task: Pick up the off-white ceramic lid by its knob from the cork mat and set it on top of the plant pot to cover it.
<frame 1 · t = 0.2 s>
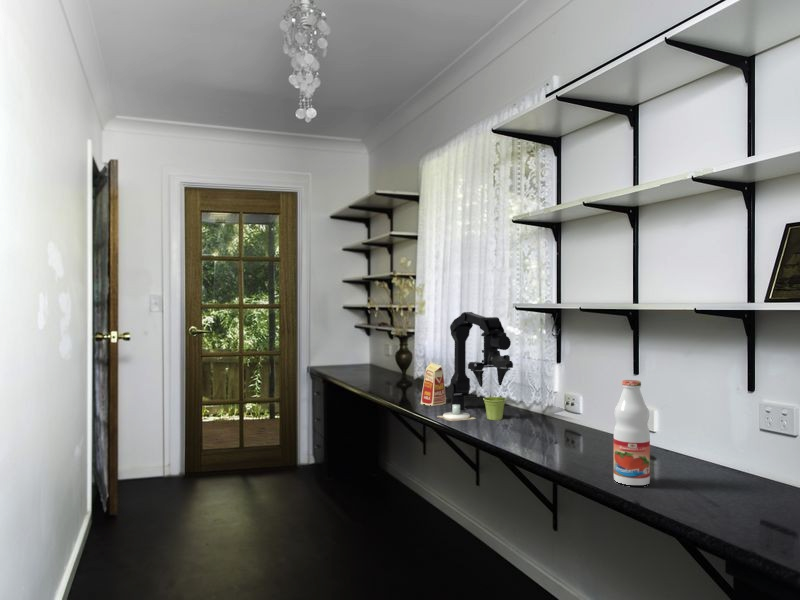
hand: (490, 386, 259), 14 cm above the table, tool pointing down, fingers open, 9 cm apart
fruit juice: (631, 483, 174), on the table
mat: (456, 418, 264), on the table
lid: (456, 417, 264), point 1 cm above the table, touching mat
plant pot: (494, 420, 261), on the table
milk carton: (434, 404, 299), on the table
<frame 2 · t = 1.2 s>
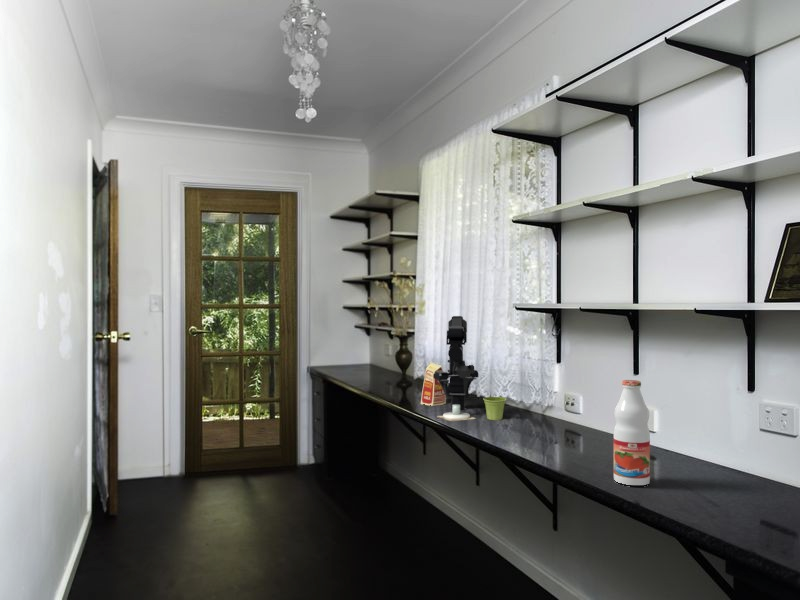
hand: (456, 395, 264), 10 cm above the table, tool pointing down, fingers open, 9 cm apart
nothing on the table moved.
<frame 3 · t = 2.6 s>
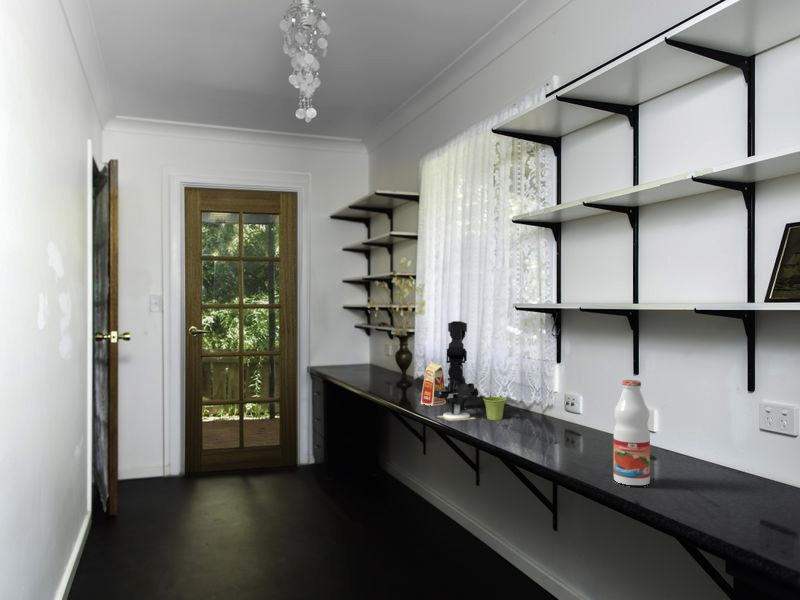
hand: (456, 413, 264), 2 cm above the table, tool pointing down, fingers closed on lid, 3 cm apart
lid: (456, 417, 264), point 1 cm above the table, touching gripper, mat
everything else where it was.
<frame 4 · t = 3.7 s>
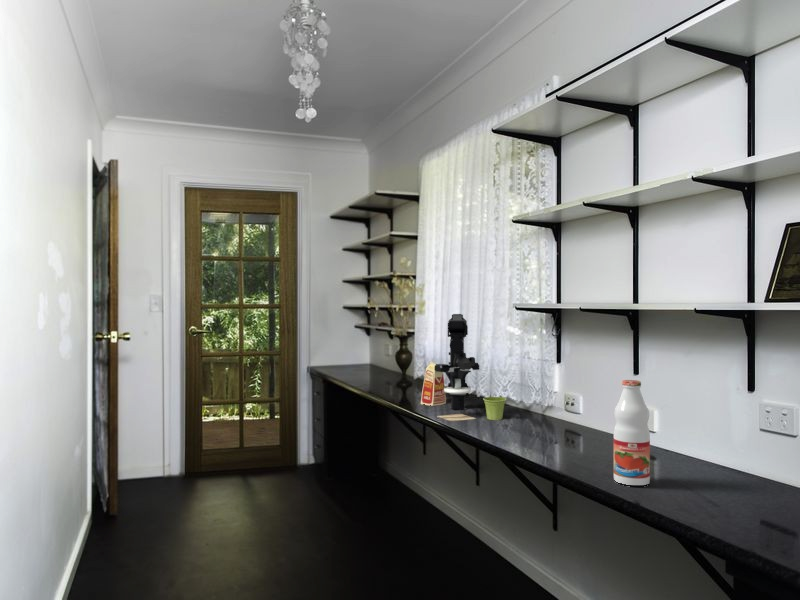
hand: (457, 387, 263), 13 cm above the table, tool pointing down, fingers closed on lid, 3 cm apart
lid: (457, 391, 263), point 11 cm above the table, touching gripper
everything else where it was.
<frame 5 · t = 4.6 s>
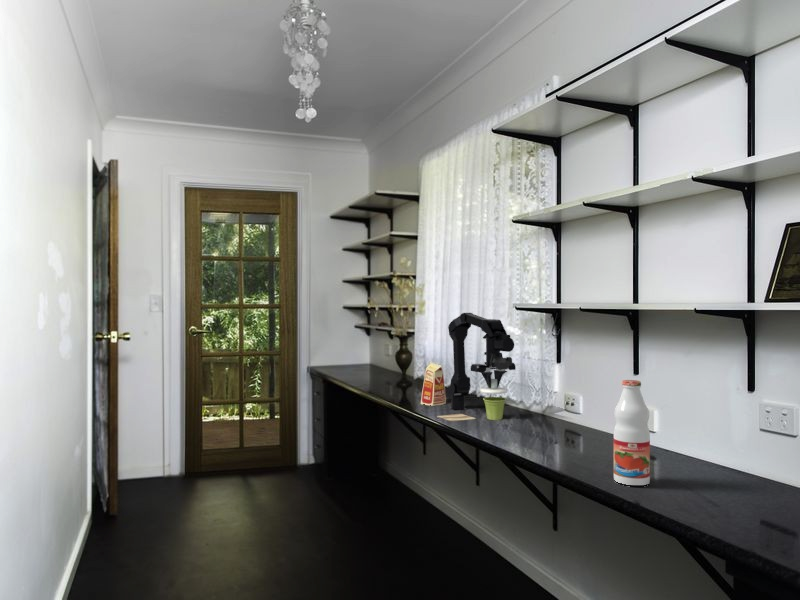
hand: (493, 387, 261), 13 cm above the table, tool pointing down, fingers closed on lid, 3 cm apart
lid: (493, 391, 261), point 12 cm above the table, touching gripper
everything else where it was.
when the fingers open (12 cm above the table, at t = 5.2 s): lid drops 2 cm, resting on plant pot.
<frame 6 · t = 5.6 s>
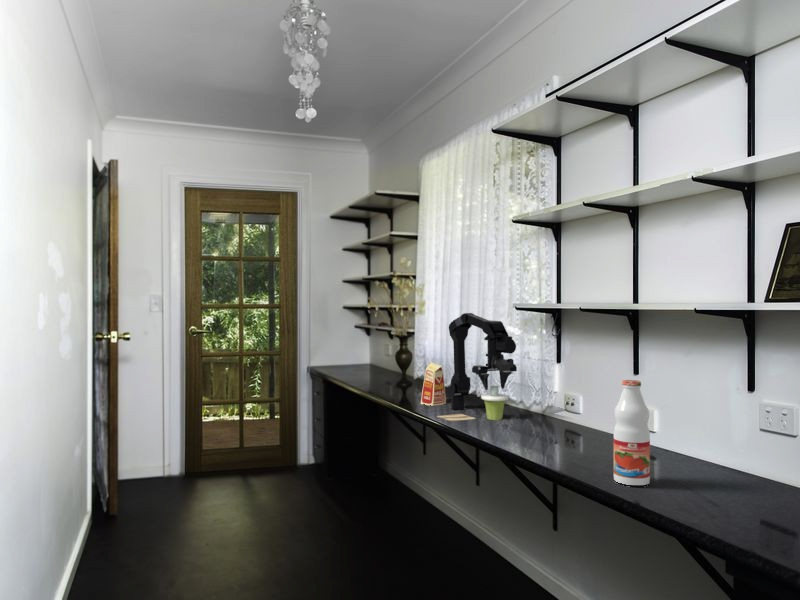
hand: (494, 389, 261), 12 cm above the table, tool pointing down, fingers open, 8 cm apart
lid: (494, 398, 261), point 9 cm above the table, touching plant pot
plant pot: (494, 420, 261), on the table, touching lid
everything else where it was.
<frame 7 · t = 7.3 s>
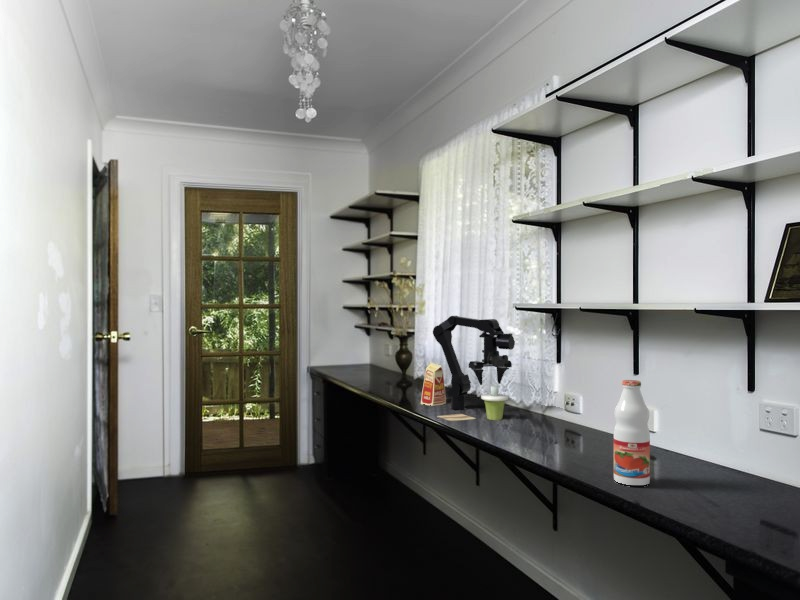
hand: (490, 384, 274), 13 cm above the table, tool pointing down, fingers open, 9 cm apart
nothing on the table moved.
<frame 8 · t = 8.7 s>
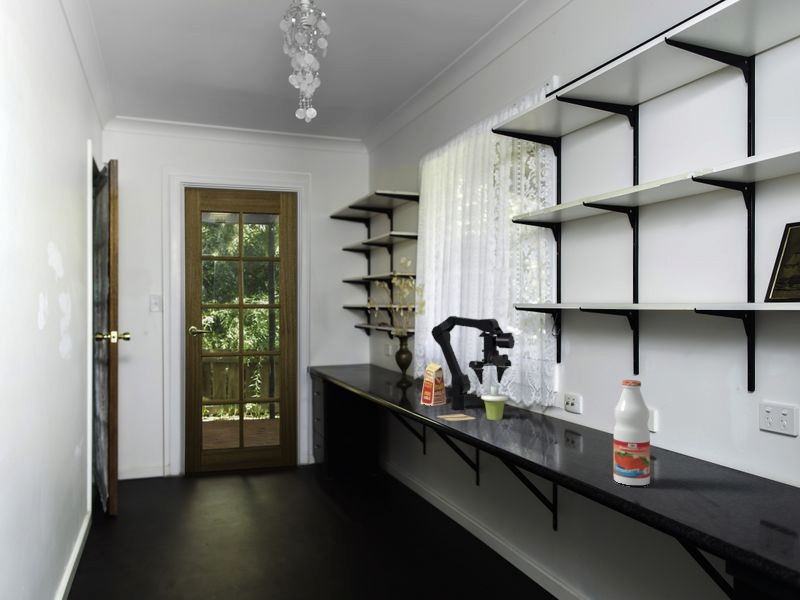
hand: (490, 383, 275), 13 cm above the table, tool pointing down, fingers open, 9 cm apart
nothing on the table moved.
at the end: lid inside the target area on the plant pot (0.1 cm from its centre), point 8.8 cm above the plant pot's base; the gripper is holding nothing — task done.
